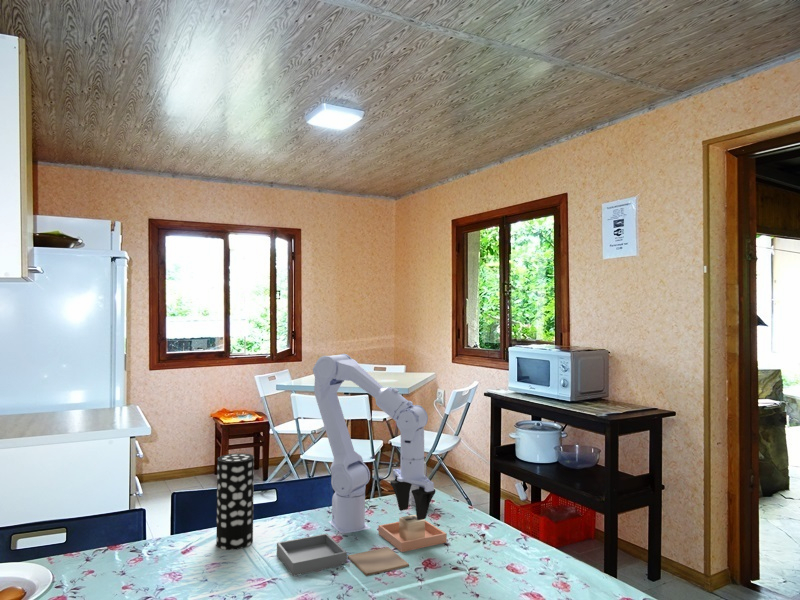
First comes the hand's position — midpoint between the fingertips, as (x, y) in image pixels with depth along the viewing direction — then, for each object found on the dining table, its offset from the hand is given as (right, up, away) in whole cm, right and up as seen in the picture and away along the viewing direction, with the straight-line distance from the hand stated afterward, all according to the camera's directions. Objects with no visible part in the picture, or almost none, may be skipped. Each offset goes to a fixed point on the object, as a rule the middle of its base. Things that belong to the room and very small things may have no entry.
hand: (412, 514), depth 136 cm
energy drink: (+2, -7, +26) cm, 27 cm away
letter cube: (0, -6, 0) cm, 6 cm away
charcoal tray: (-23, -6, -11) cm, 26 cm away
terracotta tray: (0, -6, 0) cm, 6 cm away
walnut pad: (-8, -6, -13) cm, 17 cm away
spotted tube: (-42, -6, -2) cm, 43 cm away
